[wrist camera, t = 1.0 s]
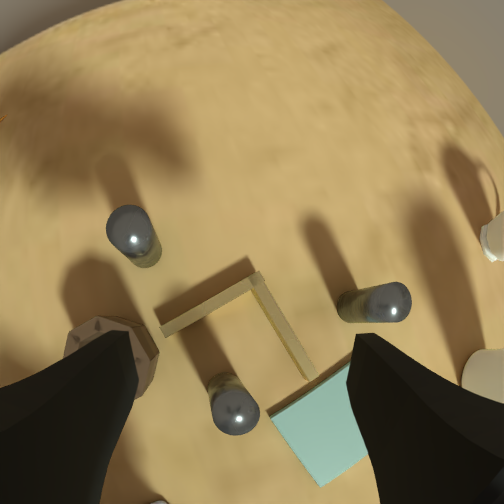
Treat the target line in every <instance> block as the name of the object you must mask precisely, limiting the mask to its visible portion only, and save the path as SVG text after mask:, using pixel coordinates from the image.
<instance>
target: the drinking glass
mask: <svg viewBox="0 0 504 504" xmlns="http://www.w3.org/2000/svg"><path fill="white" fill-rule="evenodd" d="M462 388H464V389H466V390H468V391H471V392H473V393H475V394H478V395H480V396H483V397H486V398H488V399H491V400H494V401H497V402H500V403H504V348H501V349H481V350H478V351H476V352H474V353H473V354H472V355H471V356H470V358H469V359H468V361H467V362H466V365H465V367H464V370H463V374H462Z"/></svg>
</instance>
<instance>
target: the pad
mask: <svg viewBox="0 0 504 504" xmlns="http://www.w3.org/2000/svg"><path fill="white" fill-rule="evenodd" d="M350 362H351V361H350ZM350 362H348V363H347V364H346V365H344V366H343V367H342V368H340V369H339V370H338V371H336V372H335V373H334V374H332V375H331V376H329V377H328V378H327V379H325V380H324V381H322V382H321V383H320V384H318V385H317V386H315V387H314V388H312V389H311V390H310V391H308V392H307V393H305V394H304V395H302V396H301V397H299V398H298V399H296V400H295V401H293V402H292V403H290V404H289V405H287V406H286V407H284V408H282V409H281V410H279V411H278V412H276V413H274V414H273V415H271V416H270V419H271V420H272V422H273V423H274V425H275V426H276V427H277V429H278V430H279V432H280V433H281V435H282V436H283V438H284V439H285V440H286V442H287V443H288V445H289V446H290V447H291V449H292V450H293V452H294V453H295V454H296V456H297V457H298V458H299V460H300V461H301V463H302V464H303V465H304V467H305V468H306V469H307V471H308V472H309V473H310V475H311V476H312V477H313V479H314V480H315V481H316V483H317V484H318V485H319V486H320V488H321V487H322V486H324V485H325V484H327V483H328V482H330V481H331V480H333V479H334V478H336V477H337V476H339V475H340V474H342V473H343V472H344V471H346V470H347V469H348V468H350V467H351V466H353V465H354V464H355V463H357V462H358V461H359V460H361V459H362V458H363V457H365V456H366V455H367V454H368V452H367V449H366V446H365V444H364V441H363V438H362V436H361V433H360V430H359V428H358V425H357V422H356V420H355V417H354V414H353V411H352V409H351V405H350V400H349V396H348V391H347V386H346V380H347V375H348V371H349V366H350Z"/></svg>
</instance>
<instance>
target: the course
mask: <svg viewBox="0 0 504 504" xmlns="http://www.w3.org/2000/svg"><path fill="white" fill-rule="evenodd" d="M106 233H107V237H108V239H109V241H110V242H111V243H112V244H113V245H114V246H115V247H116V248H117V249H118V250H119V251H120V252H121V253H122V254H124V255H125V256H126V257H127V258H128V259H129V260H130V261H131V262H132V263H133V264H135V265H136V266H138V267H141V268H148V267H151V266H153V265H155V264H156V263H157V262H158V261H159V259H160V257H161V254H162V247H161V244H160V242H159V240H158V237H157V235H156V233H155V231H154V228H153V226H152V224H151V222H150V219H149V217H148V215H147V213H146V212H145V211H144V210H143V209H142V208H140V207H138V206H135V205H124V206H121V207H119V208H117V209H116V210H115V211H114V212H113V213H112V214H111V215H110V217H109V218H108V221H107V224H106ZM264 281H265V280H264V278H263V276H262V275H261V273H260V271H257V272H255V273H254V274H252V275H250V276H248V277H247V278H245V279H243V280H242V281H240V282H238V283H236V284H235V285H233V286H231V287H229V288H228V289H226V290H224V291H222V292H221V293H219V294H217V295H215V296H214V297H212V298H210V299H208V300H207V301H205V302H203V303H201V304H200V305H198V306H196V307H194V308H193V309H191V310H189V311H187V312H185V313H184V314H182V315H180V316H178V317H177V318H175V319H173V320H171V321H169V322H168V323H166V324H164V325H162V326H160V327H159V328H160V329H161V331H162V333H163V335H164V336H165V338H167V337H168V336H170V335H172V334H174V333H176V332H177V331H179V330H181V329H183V328H185V327H186V326H188V325H190V324H192V323H193V322H195V321H197V320H199V319H200V318H202V317H204V316H206V315H207V314H209V313H211V312H213V311H214V310H216V309H218V308H220V307H221V306H223V305H225V304H227V303H228V302H230V301H232V300H233V299H235V298H237V297H239V296H240V295H242V294H244V293H245V292H247V291H249V290H251V291H252V293H253V294H254V296H255V298H256V299H257V301H258V303H259V304H260V306H261V308H262V309H263V311H264V313H265V314H266V316H267V318H268V320H269V321H270V323H271V325H272V326H273V328H274V330H275V331H276V333H277V335H278V336H279V338H280V340H281V341H282V343H283V345H284V346H285V348H286V350H287V351H288V353H289V354H290V356H291V358H292V359H293V361H294V363H295V364H296V366H297V368H298V369H299V371H300V373H301V374H302V376H303V378H304V379H305V380H307V381H309V382H311V381H312V380H314V379H315V378H317V377H318V376H320V375H319V374H318V372H317V370H316V369H315V367H314V365H313V364H312V362H311V360H310V359H309V357H308V355H307V353H306V352H305V350H304V348H303V347H302V345H301V343H300V342H299V340H298V338H297V337H296V335H295V333H294V332H293V330H292V328H291V327H290V325H289V323H288V321H287V320H286V318H285V316H284V315H283V313H282V311H281V310H280V308H279V306H278V305H277V303H276V301H275V299H274V298H273V296H272V294H271V293H270V291H269V289H268V288H267V286H266V284H265V283H264ZM411 305H412V300H411V295H410V292H409V290H408V289H407V287H406V286H405V285H404V284H402V283H400V282H392V283H387V284H383V285H378V286H373V287H368V288H364V289H359V290H354V291H349V292H346V293H344V294H343V295H342V296H341V297H340V298H339V300H338V303H337V311H338V314H339V316H340V318H341V319H342V320H343V321H345V322H348V323H386V322H400V321H402V320H404V319H405V318H406V317H407V316H408V314H409V312H410V310H411ZM208 395H209V401H210V406H211V411H212V417H213V421H214V423H215V425H216V426H217V428H218V429H219V430H221V431H222V432H224V433H226V434H229V435H242V434H245V433H248V432H249V431H251V430H252V429H253V428H254V427H255V426H256V424H257V423H258V421H259V417H260V410H259V407H258V404H257V403H256V401H255V400H254V399H253V397H252V396H251V395H250V393H249V392H248V391H247V389H246V388H245V387H244V385H243V384H242V382H241V381H240V380H239V378H238V377H236V376H235V375H233V374H231V373H220V374H217V375H215V376H214V377H213V378H212V379H211V380H210V382H209V384H208Z"/></svg>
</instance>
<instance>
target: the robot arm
mask: <svg viewBox="0 0 504 504" xmlns="http://www.w3.org/2000/svg"><path fill="white" fill-rule="evenodd" d="M138 383H139V377H138V373H137V369H136V364H135V360H134V356H133V351H132V346H131V341H130V336H129V331H119V330H110V331H108V332H106V333H105V334H103V335H101V336H99V337H98V338H96V339H94V340H93V341H91V342H90V343H88V344H86V345H85V346H83V347H81V348H80V349H78V350H77V351H75V352H73V353H72V354H70V355H69V356H67V357H65V358H63V359H62V360H60V361H58V362H56V363H55V364H53V365H51V366H49V367H47V368H46V369H44V370H42V371H40V372H38V373H36V374H34V375H32V376H30V377H28V378H25V379H23V380H21V381H18V382H16V383H14V384H11V385H8V386H5V387H2V388H0V504H99V503H100V498H101V492H102V488H103V483H104V479H105V475H106V471H107V467H108V464H109V461H110V458H111V456H112V453H113V451H114V448H115V446H116V443H117V441H118V439H119V436H120V434H121V432H122V429H123V427H124V425H125V422H126V420H127V417H128V415H129V413H130V410H131V408H132V405H133V402H134V398H135V395H136V391H137V387H138ZM346 386H347V391H348V396H349V400H350V405H351V409H352V411H353V414H354V417H355V420H356V422H357V425H358V428H359V430H360V433H361V436H362V438H363V441H364V444H365V446H366V449H367V452H368V454H369V457H370V460H371V463H372V466H373V470H374V474H375V478H376V483H377V488H378V493H379V498H380V504H504V403H500V402H497V401H494V400H491V399H488V398H486V397H483V396H480V395H478V394H475V393H473V392H471V391H468V390H466V389H464V388H462V387H460V386H458V385H456V384H454V383H452V382H450V381H448V380H446V379H444V378H443V377H441V376H439V375H437V374H436V373H434V372H432V371H431V370H429V369H427V368H426V367H424V366H423V365H421V364H420V363H418V362H417V361H415V360H414V359H412V358H411V357H409V356H408V355H406V354H405V353H403V352H402V351H400V350H399V349H398V348H396V347H395V346H393V345H392V344H390V343H389V342H387V341H386V340H384V339H383V338H381V337H380V336H378V335H376V334H375V333H364V334H356V336H355V342H354V347H353V352H352V357H351V362H350V366H349V371H348V375H347V380H346ZM151 504H167V503H166V502H164V501H156V502H153V503H151Z"/></svg>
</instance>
